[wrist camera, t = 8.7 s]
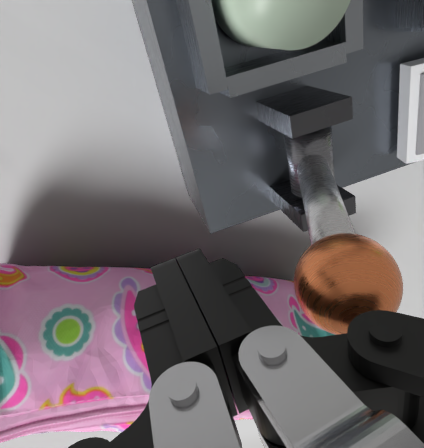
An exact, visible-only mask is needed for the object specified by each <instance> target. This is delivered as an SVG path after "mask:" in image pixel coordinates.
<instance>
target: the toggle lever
mask: <svg viewBox="0 0 424 448" xmlns="http://www.w3.org/2000/svg"><path fill="white" fill-rule="evenodd" d="M284 137H285V145H286V153H287V160H288V168H289V176H290V184H291V191H292V194H293V195H295V196H296V197H299V198H302V199H303V204H304V209H305V214H306V220H307V225H308V230H309V235H310V240H311V246H310V247H308V248H307V250H306V251H305V252H304V253H303V254H302V256H301V257H300V259H299V261H298V264H297V266H296V269H295V274H294V290H295V295H296V298H297V301H298V303H299V305H300V307H301V309H302V310H303V312H304V313H305V315H306V316H307V317H308V318H309V319H310V320H311V321H312V322H313V323H314V324H315V325H317V326H318V327H320V328H321V329H323V330H325V331H327V332H329V333H332V334H335V335H338V334H345V333H347V330H348V326H349V324H350V322H351V321H352V320H353V319H354V318H355V317H356V316H358V315H360V314H362V313H365V312H368V311H373V310H386V311H392V312H397V310H398V308H399V306H400V303H401V299H402V294H403V282H402V276H401V273H400V270H399V267H398V265H397V263H396V262H395V260H394V258H393V257H392V256H391V254H390V253H389V252H388V251H387V250H386V249H385V248H384V247H383V246H381V245H380V244H379V243H377V242H375V241H374V240H372V239H370V238H367V237H365V236H362V235H358V234H355V232H354V229H353V226H352V224H351V221H350V219H349V216H348V213H347V211H346V208H345V206H344V203H343V200H342V198H341V195H340V193H339V190H338V187H337V185H336V182H335V174H334V157H333V141H332V126H330V127H327V128H324V129H321V130H318V131H315V132H311V133H308V134H305V135H302V136H299V137H296V138H293V139H292V138H290V137H288V136H287V135H285V134H284Z"/></svg>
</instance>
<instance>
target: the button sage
mask: <svg viewBox="0 0 424 448" xmlns="http://www.w3.org/2000/svg"><path fill="white" fill-rule="evenodd" d="M350 1H351V0H211V2H212V7H213V12H214V17H215V19H216V21H217V23H218V24H219V26H220V27H221V29H222V30H223V31H224V32H225V33H226V35H228V36H229V37H230V38H231V39H233V40H234V41H236V42H237V43H240V44H242V45H245V46H249V47H259V48H270V49H281V50H300V49H304V48H307V47H310V46H312V45H314V44H316V43H318V42H320V41H321V40H322V39H324V38H325V37H326V36H327V35H328V34H329V33H331V32H332V31H333V29H334V28H335V27H336V26H337V25H338V23H339V22H340V20H341V19H342V17H343V16H344V14H345V12H346V10H347V8H348V6H349V3H350Z"/></svg>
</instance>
